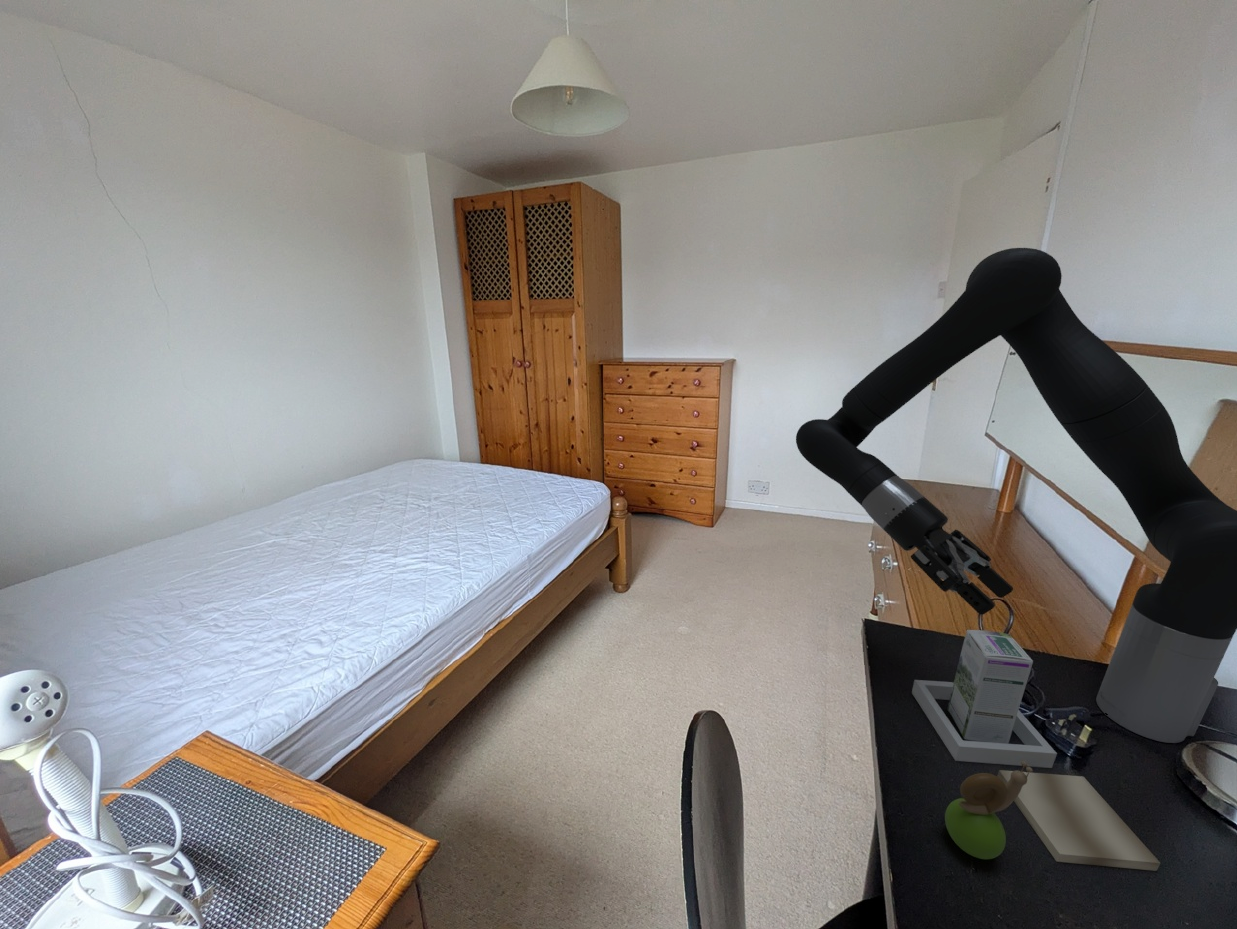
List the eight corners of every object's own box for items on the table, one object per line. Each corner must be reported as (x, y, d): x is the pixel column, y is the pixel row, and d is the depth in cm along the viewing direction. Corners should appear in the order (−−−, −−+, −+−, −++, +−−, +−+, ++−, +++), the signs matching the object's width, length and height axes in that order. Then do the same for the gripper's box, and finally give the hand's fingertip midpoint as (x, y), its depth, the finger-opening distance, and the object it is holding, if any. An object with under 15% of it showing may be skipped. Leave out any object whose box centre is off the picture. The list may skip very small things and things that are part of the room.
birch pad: (1080, 783, 61) (1083, 776, 61) (1156, 870, 52) (1160, 862, 51) (996, 776, 62) (999, 769, 62) (1056, 861, 52) (1059, 853, 52)
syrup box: (1009, 747, 66) (1037, 660, 62) (961, 740, 67) (986, 654, 63) (988, 714, 71) (1012, 632, 67) (944, 708, 73) (965, 627, 68)
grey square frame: (992, 697, 74) (996, 684, 74) (1051, 768, 63) (1057, 753, 62) (911, 692, 76) (914, 679, 75) (955, 760, 64) (959, 746, 63)
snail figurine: (1021, 872, 52) (1051, 789, 48) (960, 871, 52) (987, 788, 48) (984, 820, 57) (1010, 742, 53) (930, 820, 57) (951, 742, 53)
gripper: (900, 502, 67) (1008, 600, 58) (938, 489, 75) (1036, 573, 67) (863, 536, 71) (958, 632, 62) (903, 520, 80) (991, 603, 71)
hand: (998, 602), depth 65 cm, fingers open, 8 cm apart
